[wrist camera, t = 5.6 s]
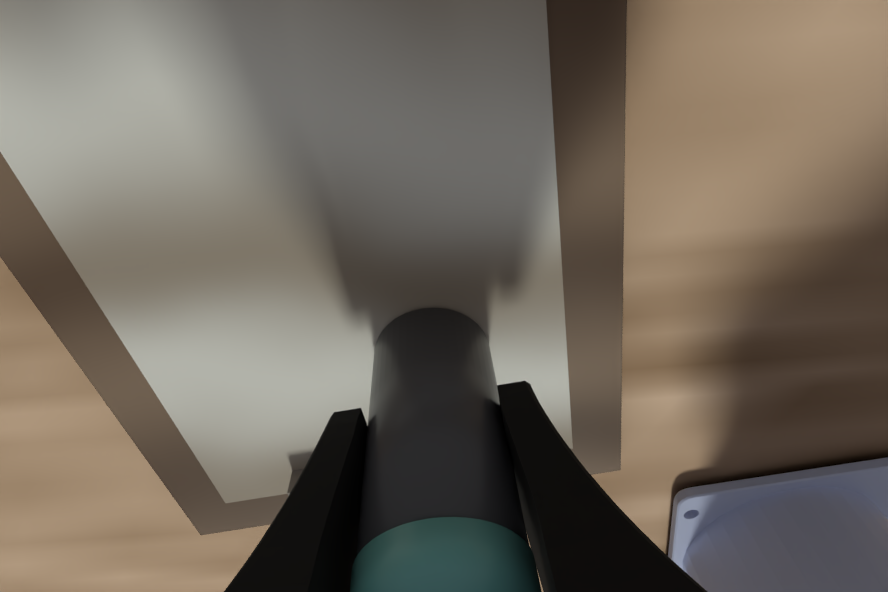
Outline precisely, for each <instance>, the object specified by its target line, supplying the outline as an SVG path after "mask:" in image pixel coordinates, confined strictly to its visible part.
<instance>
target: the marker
mask: <svg viewBox="0 0 888 592" xmlns="http://www.w3.org/2000/svg"><path fill="white" fill-rule="evenodd" d="M350 592H541V587H540V582H539V577H538V572H537V567H536V562H535V558H534V554H533V552H532V550H531V548H530V546H529V543H528V538H527V533H526V528H525V523H524V518H523V513H522V508H521V502H520V497H519V492H518V487H517V482H516V477H515V472H514V467H513V463H512V458H511V454H510V450H509V446H508V442H507V438H506V433H505V427H504V422H503V417H502V412H501V407H500V401H499V395H498V389H497V382H496V377H495V372H494V367H493V362H492V357H491V352H490V347H489V342H488V339H487V337H486V335H485V333H484V331H483V330H482V328H481V327H480V326H479V325H478V324H477V323H476V322H475V321H474V320H472V319H471V318H469V317H468V316H466V315H464V314H462V313H460V312H457V311H454V310H450V309H445V308H423V309H418V310H413V311H410V312H408V313H405V314H403V315H401V316H399V317H397V318H396V319H394V320H393V321H392V322H390V323H389V324H388V325H387V326H386V327H385V328H384V329H383V331H382V332H381V334H380V335H379V337H378V339H377V342H376V345H375V350H374V360H373V372H372V383H371V394H370V405H369V416H368V427H367V439H366V450H365V461H364V472H363V483H362V494H361V506H360V517H359V528H358V539H357V550H356V558H355V560H354V563H353V566H352V572H351V583H350Z"/></svg>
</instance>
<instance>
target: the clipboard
mask: <svg viewBox="0 0 888 592" xmlns="http://www.w3.org/2000/svg"><path fill="white" fill-rule="evenodd" d="M626 10H627V0H0V257H1V258H2V260H3V261H4V262H5V264H6V265H7V267H8V268H9V269H10V271H11V272H12V274H13V275H14V276H15V278H16V279H17V280H18V282H19V283H20V285H21V286H22V287H23V289H24V290H25V292H26V293H27V294H28V296H29V297H30V299H31V300H32V301H33V303H34V304H35V305H36V307H37V308H38V310H39V311H40V312H41V314H42V315H43V317H44V318H45V319H46V321H47V322H48V324H49V325H50V326H51V328H52V329H53V330H54V332H55V333H56V335H57V336H58V337H59V339H60V340H61V342H62V343H63V344H64V346H65V347H66V349H67V350H68V351H69V353H70V354H71V356H72V357H73V358H74V360H75V361H76V362H77V364H78V365H79V367H80V368H81V369H82V371H83V372H84V374H85V375H86V376H87V378H88V379H89V381H90V382H91V383H92V385H93V386H94V387H95V389H96V390H97V392H98V393H99V394H100V396H101V397H102V399H103V400H104V401H105V403H106V404H107V406H108V407H109V408H110V410H111V411H112V412H113V414H114V415H115V417H116V418H117V419H118V421H119V422H120V424H121V425H122V426H123V428H124V429H125V431H126V432H127V433H128V435H129V436H130V437H131V439H132V440H133V442H134V443H135V444H136V446H137V447H138V449H139V450H140V451H141V453H142V454H143V456H144V457H145V458H146V460H147V461H148V463H149V464H150V465H151V467H152V468H153V469H154V471H155V472H156V474H157V475H158V476H159V478H160V479H161V481H162V482H163V483H164V485H165V486H166V488H167V489H168V490H169V492H170V493H171V494H172V496H173V497H174V499H175V500H176V501H177V503H178V504H179V506H180V507H181V508H182V510H183V511H184V513H185V514H186V515H187V517H188V518H189V519H190V521H191V522H192V524H193V525H194V526H195V528H196V529H197V531H198V532H199V533H200V535H205V534H211V533H218V532H224V531H231V530H237V529H244V528H250V527H257V526H263V525H269V524H271V523H272V522H273V520H274V519H275V517H276V516H277V514H278V512H279V511H280V509H281V508H282V506H283V504H284V503H285V501H286V499H287V498H288V496H289V494H290V492H291V491H292V489H293V487H294V485H295V484H296V482H297V480H298V478H299V476H300V475H301V473H302V471H303V469H304V468H305V466H306V464H307V462H308V460H309V458H310V456H311V454H312V453H313V451H314V449H315V447H316V445H317V443H318V441H319V439H320V437H321V435H322V433H323V431H324V429H325V427H326V425H327V423H328V421H329V419H330V417H331V416H332V414H333V413H334V412H338V411H344V410H350V409H357V408H361V409H362V412H363V415H364V417H365V420H366V423H367V426H368V416H369V405H370V394H371V383H372V372H373V360H374V350H375V345H376V342H377V339H378V337H379V335H380V334H381V332H382V331H383V329H384V328H385V327H386V326H387V325H388V324H389V323H390V322H392V321H393V320H394V319H396V318H397V317H399V316H401V315H403V314H405V313H408V312H410V311H413V310H418V309H423V308H445V309H450V310H454V311H457V312H460V313H462V314H464V315H466V316H468V317H469V318H471V319H472V320H474V321H475V322H476V323H477V324H478V325H479V326H480V327H481V328H482V330H483V331H484V333H485V335H486V337H487V339H488V342H489V347H490V352H491V357H492V362H493V367H494V372H495V377H496V382H497V385H502V384H508V383H514V382H520V381H526V382H528V383H530V384H531V387H532V389H533V391H534V393H535V395H536V397H537V399H538V401H539V403H540V404H541V406H542V408H543V409H544V411H545V413H546V414H547V416H548V417H549V419H550V421H551V422H552V424H553V425H554V427H555V428H556V430H557V431H558V433H559V434H560V435H561V437H562V438H563V440H564V441H565V442H566V444H567V445H568V446H569V448H570V449H571V450H572V452H573V453H574V454H575V456H576V457H577V458H578V460H579V461H580V462H581V464H582V465H583V466H584V467H585V469H586V470H587V471H588V472H589V474H590V475H592V474H598V473H604V472H611V471H617V470H620V469H621V392H622V316H623V240H624V163H625V87H626Z"/></svg>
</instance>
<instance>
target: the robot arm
mask: <svg viewBox="0 0 888 592" xmlns="http://www.w3.org/2000/svg"><path fill="white" fill-rule="evenodd" d="M497 389H498V395H499V401H500V407H501V412H502V417H503V422H504V427H505V433H506V438H507V442H508V446H509V450H510V454H511V458H512V463H513V467H514V472H515V477H516V482H517V487H518V492H519V497H520V502H521V508H522V513H523V518H524V523H525V528H526V532H527V535H528V539H529V542H530V546H531V549H532V552H533V554H534V558H535V562H536V566H537V570H538V573H539V577H540V580H541V584H542V587H543V591H544V592H888V457H886V458H879V459H873V460H866V461H860V462H853V463H847V464H840V465H834V466H827V467H821V468H814V469H807V470H801V471H794V472H788V473H781V474H775V475H768V476H762V477H755V478H748V479H742V480H735V481H729V482H722V483H716V484H709V485H703V486H696V487H690V488H685V489H683V490H681V491H679V492H678V493H677V494H676V495H675V497H674V502H673V512H672V522H671V532H670V542H669V551H668V556H667V555H666V554H665V553H664V552H663V551H661V550H660V549H659V548H658V547H657V546H656V545H655V544H654V543H653V542H652V541H651V540H650V539H649V538H648V537H647V536H646V535H645V534H644V533H643V532H642V531H641V530H640V529H639V528H638V527H637V526H636V525H635V524H634V523H633V522H632V521H631V520H630V519H629V518H628V517H627V516H626V514H625V513H624V512H623V511H622V510H621V509H620V508H619V507H618V506H617V505H616V504H615V503H614V502H613V500H612V499H611V498H610V497H609V496H608V495H607V494H606V493H605V491H604V490H603V489H602V488H601V487H600V485H599V484H598V483H597V482H596V481H595V480H594V478H593V477H592V476H591V475H590V474H589V472H588V471H587V470H586V469H585V467H584V466H583V465H582V464H581V462H580V461H579V460H578V458H577V457H576V456H575V454H574V453H573V452H572V450H571V449H570V448H569V446H568V445H567V444H566V442H565V441H564V440H563V438H562V437H561V435H560V434H559V433H558V431H557V430H556V428H555V427H554V425H553V424H552V422H551V421H550V419H549V417H548V416H547V414H546V413H545V411H544V409H543V408H542V406H541V404H540V403H539V401H538V399H537V397H536V395H535V393H534V391H533V389H532V387H531V384H530V383H528V382H526V381H520V382H514V383H508V384H502V385H497ZM367 427H368V426H367V423H366V420H365V417H364V415H363V412H362V409H361V408H357V409H350V410H344V411H338V412H334V413H333V414H332V416H331V417H330V419H329V421H328V423H327V425H326V427H325V429H324V431H323V433H322V435H321V437H320V439H319V441H318V443H317V445H316V447H315V449H314V451H313V453H312V454H311V456H310V458H309V460H308V462H307V464H306V466H305V468H304V469H303V471H302V473H301V475H300V476H299V478H298V480H297V482H296V484H295V485H294V487H293V489H292V491H291V492H290V494H289V496H288V498H287V499H286V501H285V503H284V504H283V506H282V508H281V509H280V511H279V512H278V514H277V516H276V517H275V519H274V520H273V522H272V523H271V525H270V527H269V528H268V530H267V531H266V533H265V535H264V536H263V538H262V539H261V541H260V542H259V544H258V545H257V547H256V548H255V550H254V551H253V553H252V554H251V556H250V557H249V558H248V560H247V561H246V563H245V564H244V565H243V567H242V568H241V570H240V571H239V572H238V574H237V575H236V576H235V578H234V579H233V580H232V582H231V583H230V585H229V586H228V587H227V588H226V590H225V591H224V592H350V583H351V572H352V566H353V563H354V560H355V558H356V550H357V539H358V528H359V517H360V506H361V494H362V483H363V472H364V461H365V450H366V439H367Z"/></svg>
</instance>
